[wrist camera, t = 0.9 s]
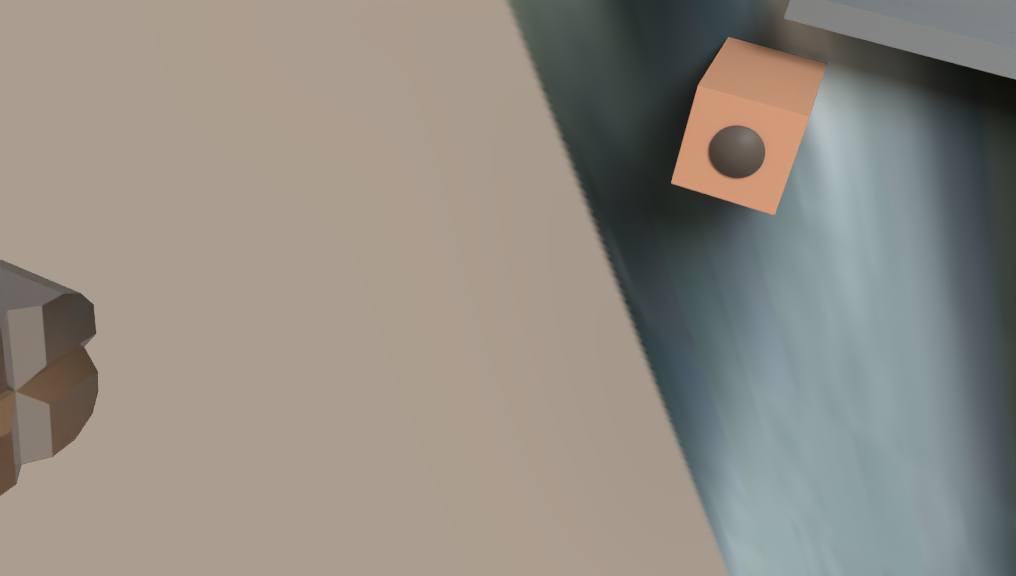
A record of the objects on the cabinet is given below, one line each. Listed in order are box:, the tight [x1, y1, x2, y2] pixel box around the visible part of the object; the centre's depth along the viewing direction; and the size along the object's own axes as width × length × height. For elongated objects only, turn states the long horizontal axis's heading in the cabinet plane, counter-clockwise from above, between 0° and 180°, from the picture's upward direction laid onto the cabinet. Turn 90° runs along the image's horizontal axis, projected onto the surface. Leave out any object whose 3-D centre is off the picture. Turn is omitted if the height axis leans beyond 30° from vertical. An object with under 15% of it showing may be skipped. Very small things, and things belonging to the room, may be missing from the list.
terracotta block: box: [671, 37, 827, 215], centre depth 37 cm, size 4×4×6 cm
